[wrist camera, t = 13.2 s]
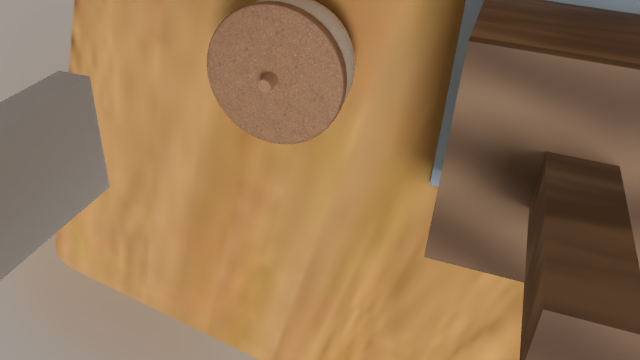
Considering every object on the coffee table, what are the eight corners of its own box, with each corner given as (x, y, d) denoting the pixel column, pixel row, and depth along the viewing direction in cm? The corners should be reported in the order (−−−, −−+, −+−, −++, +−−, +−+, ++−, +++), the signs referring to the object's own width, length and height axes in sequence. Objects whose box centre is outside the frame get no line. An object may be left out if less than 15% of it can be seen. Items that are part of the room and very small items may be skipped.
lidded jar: (328, -46, 46) (283, -20, 39) (394, 76, 50) (365, 122, 42) (225, 18, 52) (167, 52, 44) (290, 124, 55) (247, 174, 47)
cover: (487, -9, 44) (424, 154, 22) (722, 26, 40) (914, 259, 19) (448, 174, 52) (375, 422, 30) (641, 216, 48) (712, 531, 27)
